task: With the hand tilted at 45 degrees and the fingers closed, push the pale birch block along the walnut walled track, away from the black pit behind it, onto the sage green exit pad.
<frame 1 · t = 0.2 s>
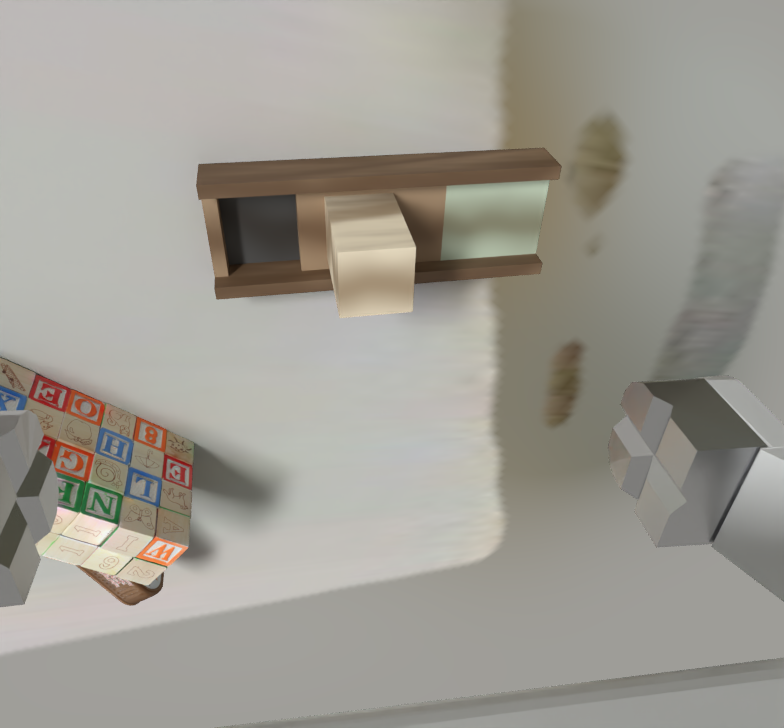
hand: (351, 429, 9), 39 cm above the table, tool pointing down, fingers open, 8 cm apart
tin: (120, 506, 66), on the table
stack of blocks: (72, 414, 58), on the table
birch block: (359, 225, 48), point 2 cm above the table, touching walled track
walled track: (377, 212, 50), on the table
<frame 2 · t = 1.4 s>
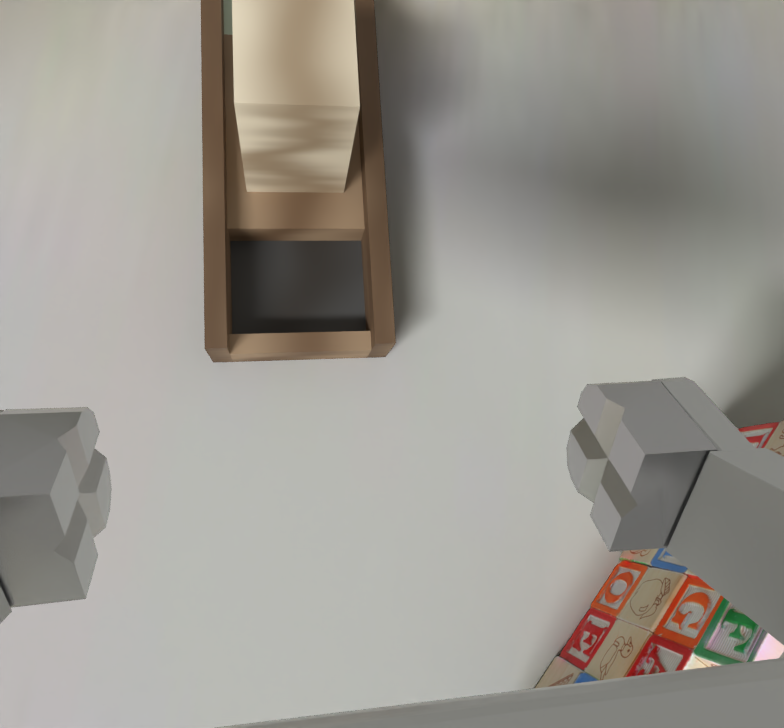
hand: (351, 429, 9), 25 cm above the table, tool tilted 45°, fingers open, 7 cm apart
stack of blocks: (644, 617, 35), on the table
birch block: (294, 147, 34), point 2 cm above the table, touching walled track
walled track: (292, 137, 36), on the table
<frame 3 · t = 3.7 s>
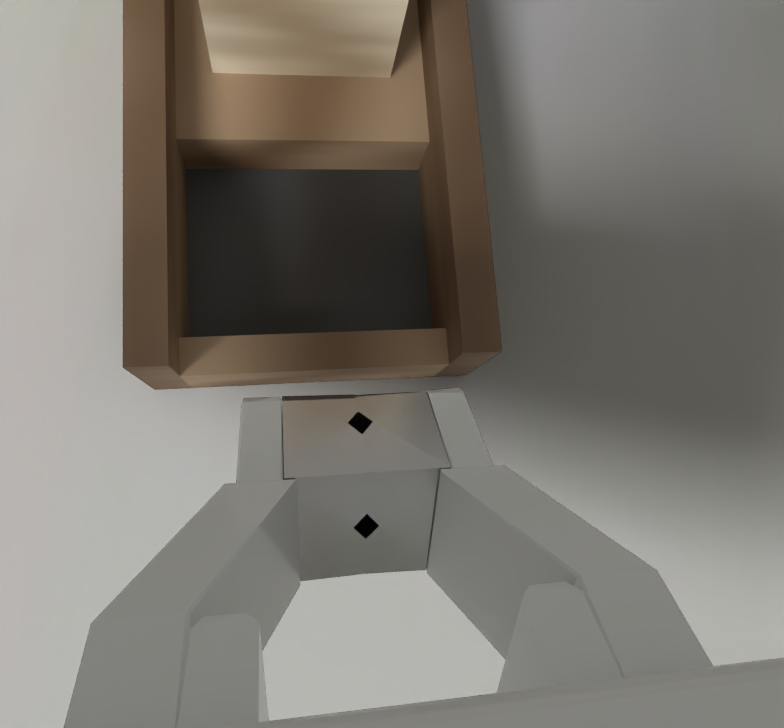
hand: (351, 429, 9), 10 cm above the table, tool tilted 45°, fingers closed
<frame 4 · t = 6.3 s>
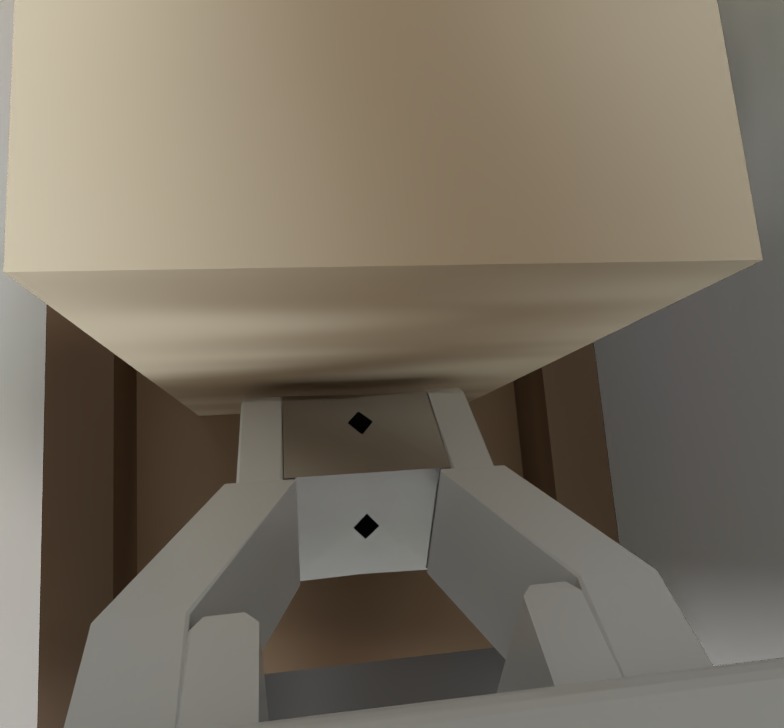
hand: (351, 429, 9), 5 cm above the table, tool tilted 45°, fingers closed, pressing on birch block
birch block: (331, 279, 12), point 2 cm above the table, touching gripper
walled track: (324, 338, 14), on the table
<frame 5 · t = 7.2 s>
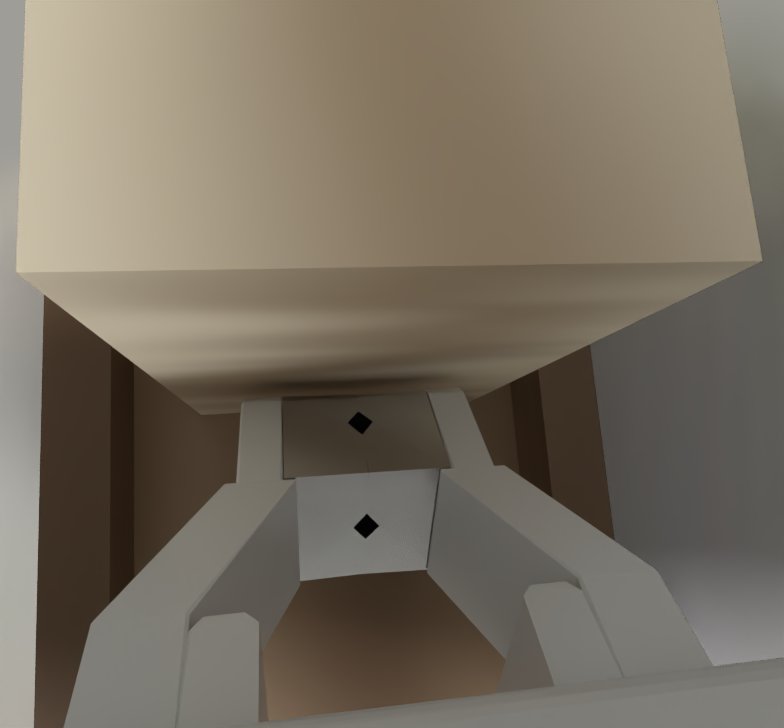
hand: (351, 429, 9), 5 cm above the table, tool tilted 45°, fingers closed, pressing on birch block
birch block: (333, 279, 12), point 2 cm above the table, touching gripper, walled track
walled track: (334, 583, 13), on the table
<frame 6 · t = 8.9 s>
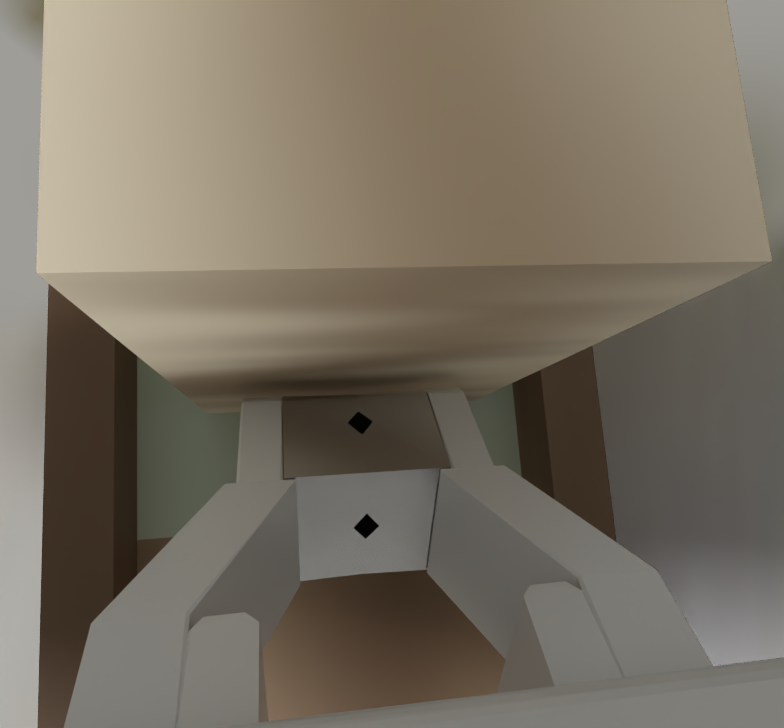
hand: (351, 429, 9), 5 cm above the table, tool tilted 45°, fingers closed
birch block: (338, 278, 13), point 2 cm above the table, touching walled track
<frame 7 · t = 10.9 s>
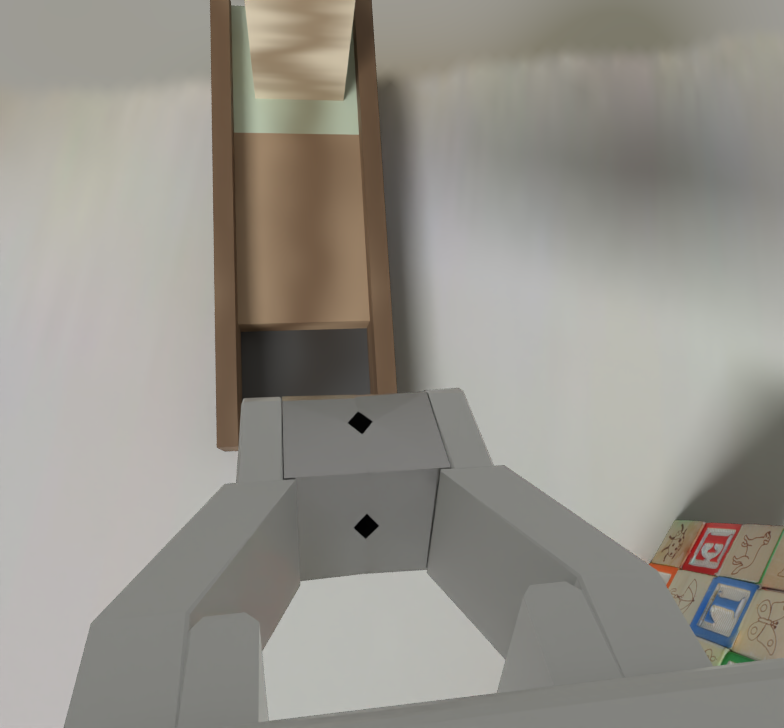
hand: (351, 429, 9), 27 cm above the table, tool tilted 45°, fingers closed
stack of blocks: (627, 712, 36), on the table
birch block: (298, 60, 37), point 2 cm above the table, touching walled track
walled track: (300, 226, 38), on the table
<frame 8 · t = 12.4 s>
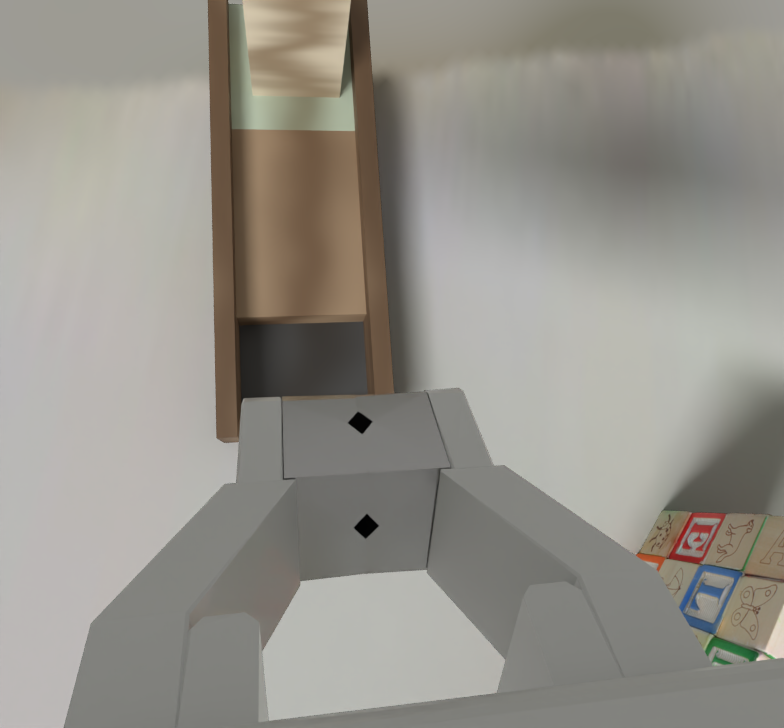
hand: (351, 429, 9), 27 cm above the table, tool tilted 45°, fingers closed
stack of blocks: (617, 699, 36), on the table
birch block: (294, 57, 38), point 2 cm above the table, touching walled track
walled track: (297, 221, 38), on the table
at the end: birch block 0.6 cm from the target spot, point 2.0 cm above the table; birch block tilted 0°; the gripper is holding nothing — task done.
